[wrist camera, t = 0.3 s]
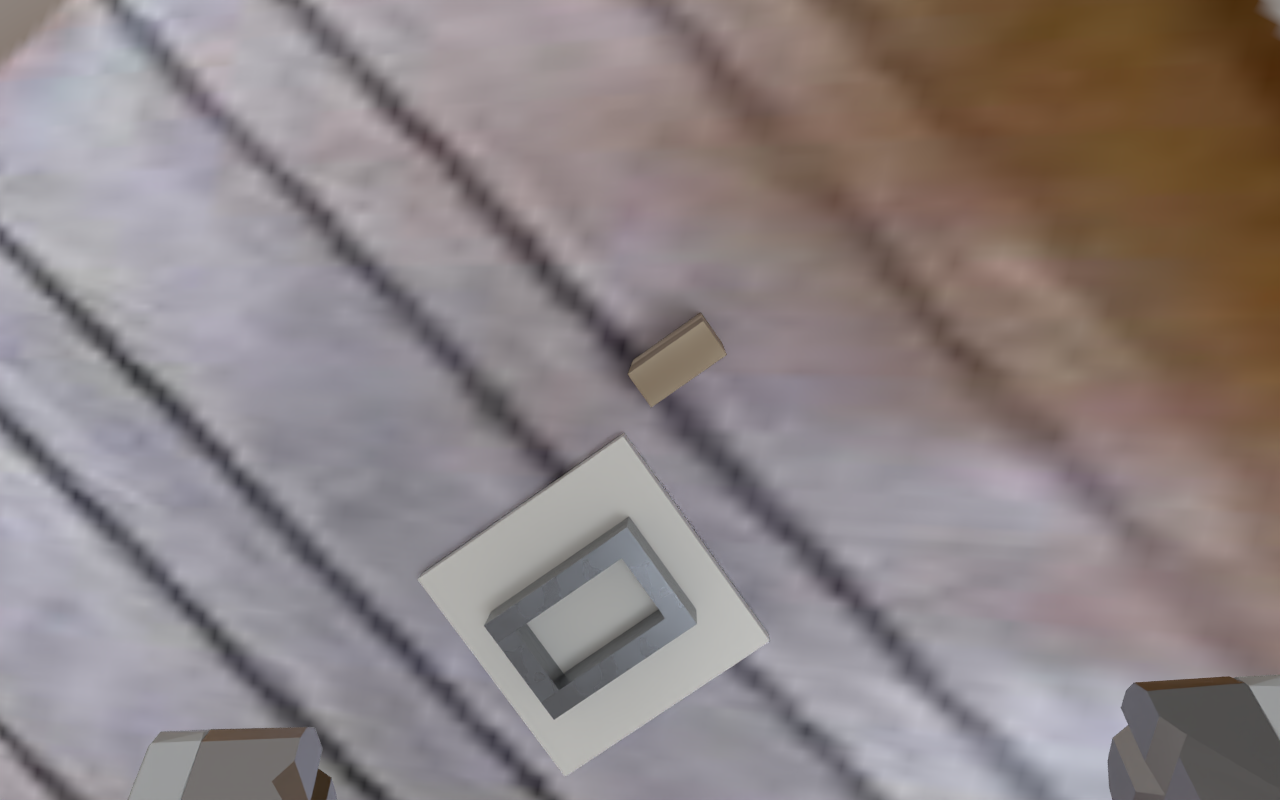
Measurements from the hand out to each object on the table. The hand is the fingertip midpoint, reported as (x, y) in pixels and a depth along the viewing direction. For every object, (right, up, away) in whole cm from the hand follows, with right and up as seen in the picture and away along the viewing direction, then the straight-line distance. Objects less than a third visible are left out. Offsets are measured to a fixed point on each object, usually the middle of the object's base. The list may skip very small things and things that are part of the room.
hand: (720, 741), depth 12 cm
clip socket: (-3, -8, +53) cm, 54 cm away
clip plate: (-3, -8, +54) cm, 55 cm away
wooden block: (+1, +6, +52) cm, 53 cm away
